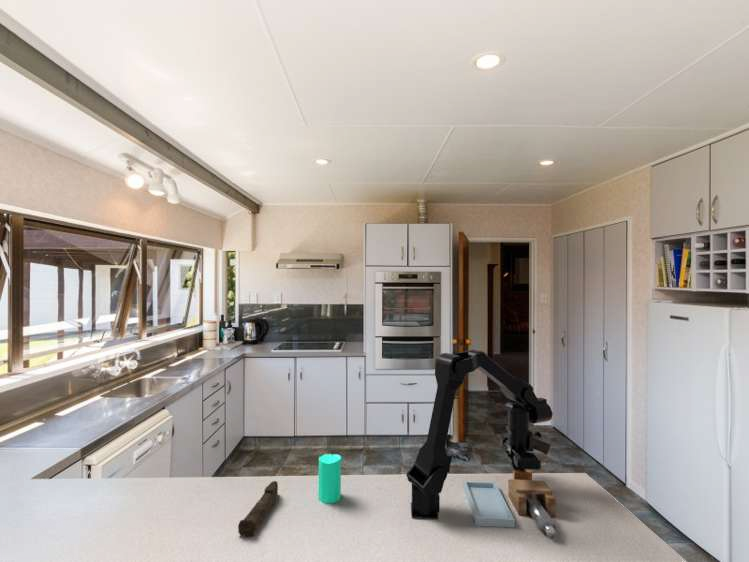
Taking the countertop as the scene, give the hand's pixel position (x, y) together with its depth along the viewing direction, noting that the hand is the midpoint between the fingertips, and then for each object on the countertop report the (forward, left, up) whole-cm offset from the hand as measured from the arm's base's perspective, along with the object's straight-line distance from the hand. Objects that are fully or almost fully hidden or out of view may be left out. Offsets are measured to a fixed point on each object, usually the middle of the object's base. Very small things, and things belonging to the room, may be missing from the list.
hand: (518, 480), depth 112 cm
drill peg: (0, -18, -2) cm, 18 cm away
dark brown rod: (-68, -19, -2) cm, 71 cm away
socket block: (0, -10, -2) cm, 10 cm away
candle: (-53, -10, -2) cm, 54 cm away
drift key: (0, -7, -2) cm, 7 cm away
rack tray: (-11, -10, -2) cm, 15 cm away
